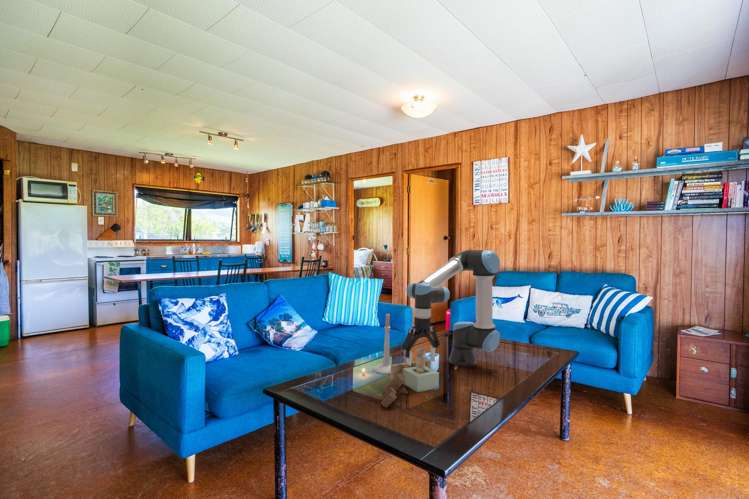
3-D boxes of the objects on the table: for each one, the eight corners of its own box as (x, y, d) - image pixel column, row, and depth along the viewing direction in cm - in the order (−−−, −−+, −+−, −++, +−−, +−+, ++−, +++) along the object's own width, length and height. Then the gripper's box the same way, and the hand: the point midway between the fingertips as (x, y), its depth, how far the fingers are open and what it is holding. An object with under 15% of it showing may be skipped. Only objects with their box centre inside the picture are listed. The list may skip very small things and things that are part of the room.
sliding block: (422, 379, 189) (423, 365, 189) (438, 388, 179) (439, 372, 179) (402, 383, 183) (402, 368, 183) (417, 392, 173) (417, 376, 173)
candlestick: (398, 367, 211) (400, 311, 210) (397, 375, 198) (399, 316, 198) (374, 365, 212) (376, 310, 212) (372, 373, 199) (374, 314, 199)
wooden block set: (386, 414, 159) (401, 400, 155) (371, 397, 162) (386, 382, 158) (404, 396, 175) (418, 383, 171) (391, 381, 178) (404, 367, 174)
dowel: (420, 381, 184) (422, 347, 184) (426, 384, 180) (427, 349, 180) (413, 382, 182) (415, 348, 182) (419, 385, 178) (420, 350, 178)
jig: (427, 379, 194) (428, 358, 194) (456, 393, 176) (457, 371, 176) (390, 385, 183) (390, 364, 183) (416, 402, 165) (417, 379, 165)
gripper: (438, 313, 190) (436, 357, 190) (395, 317, 177) (393, 363, 178) (448, 316, 183) (447, 361, 184) (404, 320, 171) (403, 368, 171)
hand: (420, 362), depth 181 cm, fingers open, 13 cm apart
